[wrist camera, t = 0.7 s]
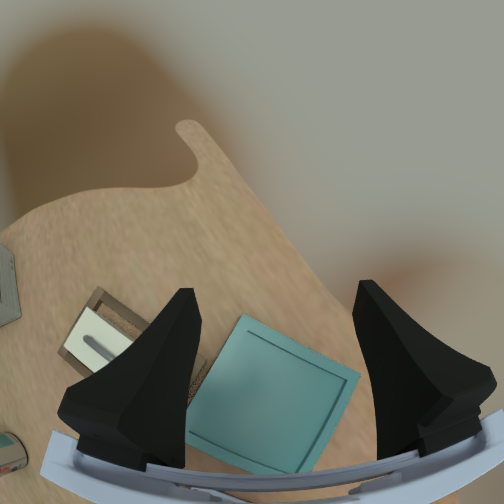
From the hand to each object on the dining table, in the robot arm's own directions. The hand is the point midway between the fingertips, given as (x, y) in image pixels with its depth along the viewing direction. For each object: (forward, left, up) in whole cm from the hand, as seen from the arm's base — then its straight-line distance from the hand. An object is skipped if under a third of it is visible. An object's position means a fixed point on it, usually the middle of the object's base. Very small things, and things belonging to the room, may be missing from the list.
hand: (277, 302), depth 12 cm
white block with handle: (-8, +8, -17) cm, 20 cm away
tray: (-5, -6, -16) cm, 18 cm away
